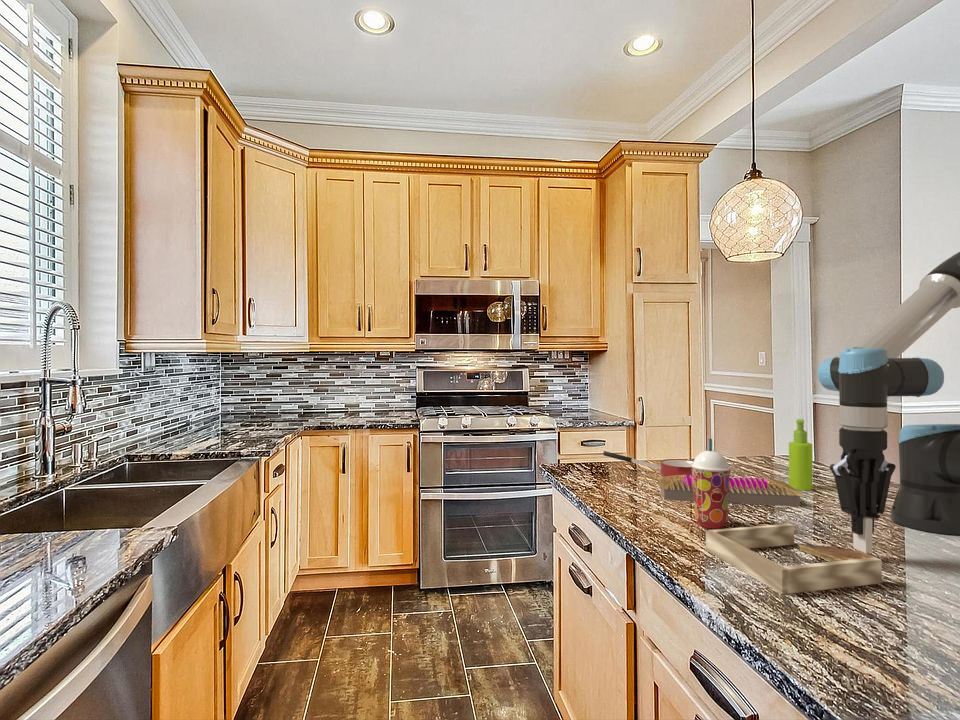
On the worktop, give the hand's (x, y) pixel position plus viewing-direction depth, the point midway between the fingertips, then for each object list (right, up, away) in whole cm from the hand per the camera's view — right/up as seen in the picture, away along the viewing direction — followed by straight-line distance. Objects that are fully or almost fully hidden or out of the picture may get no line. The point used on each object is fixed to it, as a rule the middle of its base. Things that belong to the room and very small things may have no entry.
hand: (862, 550), depth 102 cm
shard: (-6, -2, -1) cm, 6 cm away
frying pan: (-17, -2, +74) cm, 76 cm away
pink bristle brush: (-6, -2, +45) cm, 45 cm away
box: (-17, -2, -3) cm, 17 cm away
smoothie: (-20, -2, +20) cm, 29 cm away
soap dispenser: (+21, -1, +54) cm, 58 cm away
